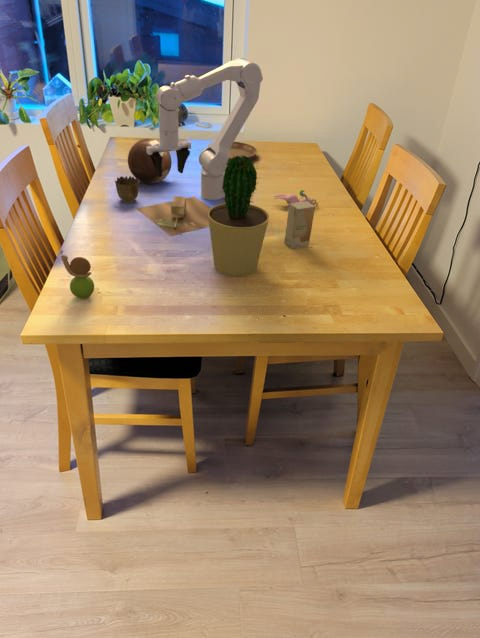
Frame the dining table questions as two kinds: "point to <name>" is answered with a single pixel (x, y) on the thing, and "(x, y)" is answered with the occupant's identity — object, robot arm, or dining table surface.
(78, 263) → the snail figurine
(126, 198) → the cup
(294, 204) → the skincare box
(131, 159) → the wooden sphere
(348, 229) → the dining table surface
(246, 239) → the potted cactus
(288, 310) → the dining table surface
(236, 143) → the plant saucer
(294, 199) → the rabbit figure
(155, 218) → the brown flat square board
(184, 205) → the peg key
